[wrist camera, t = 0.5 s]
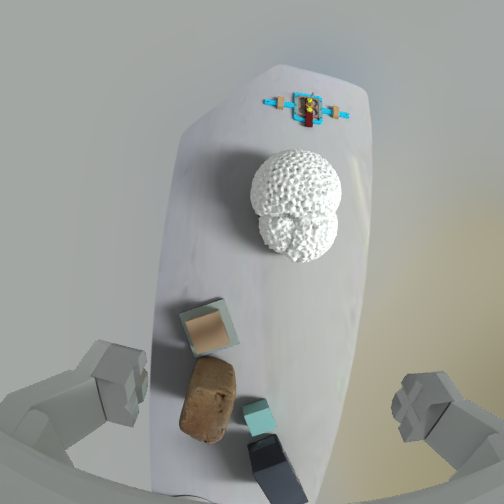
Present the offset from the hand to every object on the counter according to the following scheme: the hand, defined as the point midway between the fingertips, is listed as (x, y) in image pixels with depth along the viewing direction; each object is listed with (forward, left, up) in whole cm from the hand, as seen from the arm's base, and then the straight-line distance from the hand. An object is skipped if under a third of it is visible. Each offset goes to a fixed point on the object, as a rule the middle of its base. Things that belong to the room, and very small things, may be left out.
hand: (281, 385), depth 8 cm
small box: (-36, +4, -50) cm, 62 cm away
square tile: (-3, +6, -50) cm, 50 cm away
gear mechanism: (+34, -29, -51) cm, 68 cm away
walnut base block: (-3, +6, -49) cm, 49 cm away
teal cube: (-23, +3, -50) cm, 55 cm away
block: (-13, +10, -50) cm, 53 cm away
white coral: (+13, -17, -50) cm, 54 cm away
